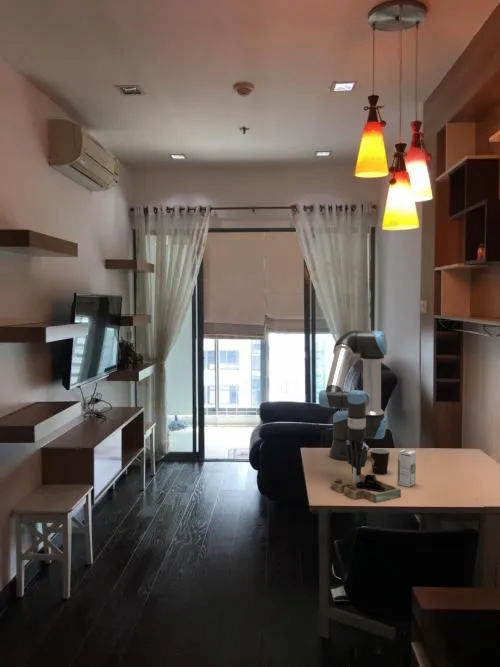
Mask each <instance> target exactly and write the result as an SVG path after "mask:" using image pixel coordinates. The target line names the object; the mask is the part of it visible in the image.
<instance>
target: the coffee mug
mask: <svg viewBox="0 0 500 667" xmlns="http://www.w3.org/2000/svg"><path fill="white" fill-rule="evenodd" d="M369 450H370V451H369V452H370V460H371V471H372V474H373V475H387V474H388V466H389V459H390V450H388V449H385V448H372V449H369Z"/></svg>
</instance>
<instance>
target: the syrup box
mask: <svg viewBox="0 0 500 667" xmlns="http://www.w3.org/2000/svg"><path fill="white" fill-rule="evenodd" d="M416 465H417V451H415V450H412V449H405V448H404V449H402V450H400V451H398V453H397V481H396V482H397V485H398V486H402V487H407V488H411V487H412V486H414V485H415V484H416V473H417V472H416V470H417V469H416V468H417V466H416Z"/></svg>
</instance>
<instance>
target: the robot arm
mask: <svg viewBox="0 0 500 667" xmlns="http://www.w3.org/2000/svg"><path fill="white" fill-rule="evenodd" d="M332 353H333V360H332V362H331V367H330V371H329V376H328V379H327V383H326V387H325V389H324V390H323V389H322V390H320V391H319V392H318V404H319V406H320V407H323V408H328V409H329V408H332V409H335V408H336V409H345V410H340V411H337V412H334V414H333V418H332V419H333V420H332V439H333V440H332V444H331V447H330V450H329V457H330V458H331V459H335V460H339V461H347V464H348V465H350V466H351V474H352V483H353V484H357V483H358V482H360V475H361V474H362V468H364V467H365V466H366V462H367V457H368V452H369V450H370V445H367V444H366V441H365V439H371V440H372V439H373V440H381V439H383V438H385V435H386V430H387V424H388V416H387V415H385V411H384V410H383V409H382V361H383V360H384V359H385V356H387V354H388V343H387V337H386V334H385V332H384V331H383V330H382V331H380V330H350V331H348V332H345V333H344V334H343V335H342V336H340V337H339V339H337V341H336V342H335V343H334V346H333V350H332ZM353 355H359V359H361V361H362V366H363V367H362V369H363V370H362V372H363V373H362V378H363V381H362V390H359V389H358V390H357V389H355V390H354V389H351V390H350V391H345V390H344V386H345V382H346V377H347V373H348V367H349V363H350V360H351V358H352V357H353ZM343 390H344V391H343ZM346 409H347V410H346Z"/></svg>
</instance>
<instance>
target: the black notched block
mask: <svg viewBox="0 0 500 667" xmlns="http://www.w3.org/2000/svg"><path fill="white" fill-rule="evenodd" d="M376 475H377V474H368V473H367V474H366V476H365V477H366V478H365V482H362V481H360V482H358V483H355V484H354V485H355V486H356V489H357V488H358V489H363V490H364V489H365V490H371V491H380V492H385V491H384V490H385V488H383V487H381V486H379V485H378V484H377V480H378V479H377V476H376ZM368 481H372V482H374V483H372V482H368Z"/></svg>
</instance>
